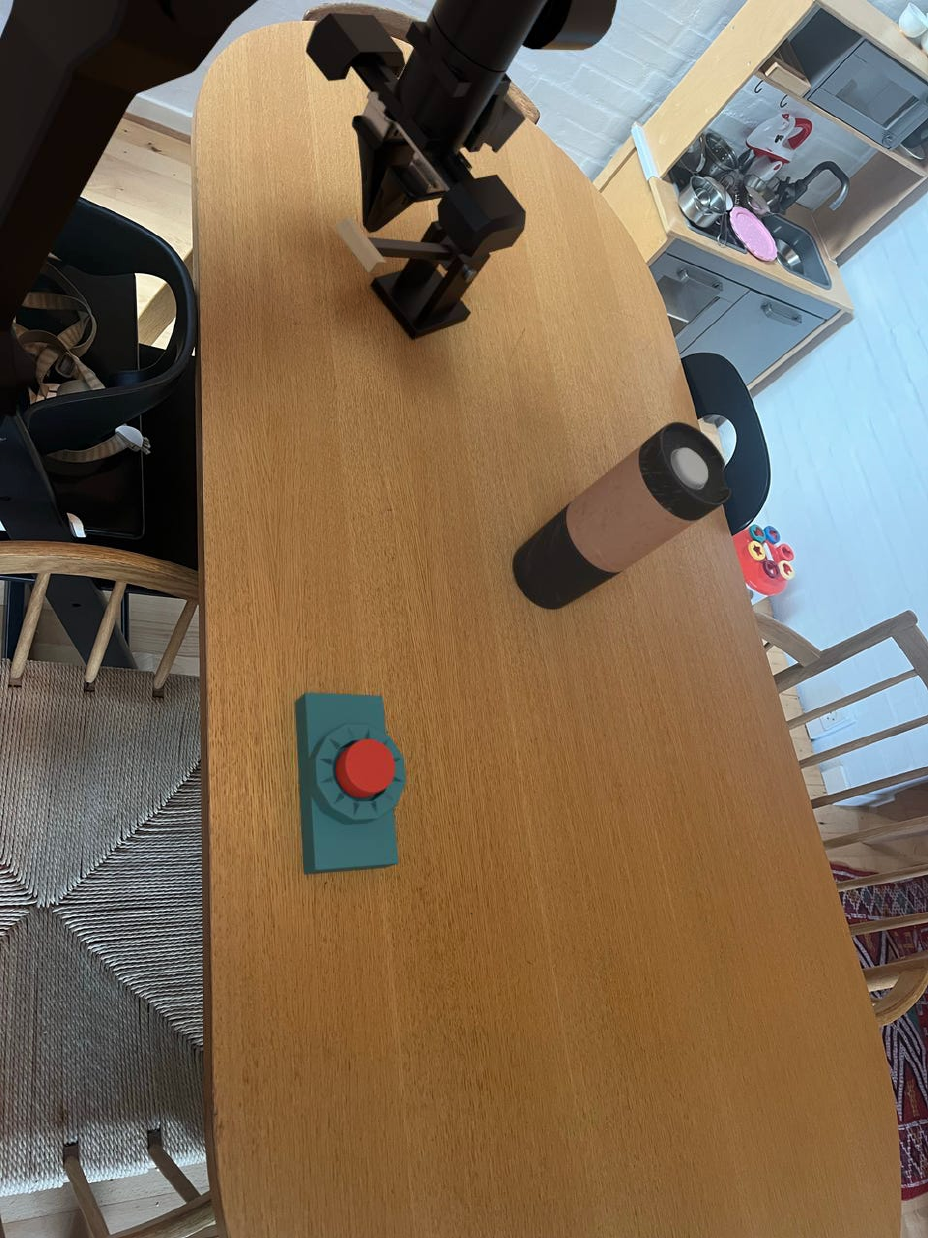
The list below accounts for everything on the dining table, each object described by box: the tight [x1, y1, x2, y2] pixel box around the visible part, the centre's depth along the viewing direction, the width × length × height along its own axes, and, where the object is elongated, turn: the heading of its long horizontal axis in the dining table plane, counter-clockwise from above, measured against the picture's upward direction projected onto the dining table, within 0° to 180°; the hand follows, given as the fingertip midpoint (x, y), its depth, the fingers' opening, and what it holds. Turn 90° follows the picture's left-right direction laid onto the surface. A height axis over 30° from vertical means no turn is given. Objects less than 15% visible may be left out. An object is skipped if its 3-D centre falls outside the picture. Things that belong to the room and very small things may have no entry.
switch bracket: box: [369, 220, 492, 341], centre depth 77 cm, size 9×7×9 cm
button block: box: [294, 691, 407, 876], centre depth 53 cm, size 12×6×4 cm, turn 9°
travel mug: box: [512, 421, 732, 610], centre depth 66 cm, size 8×8×20 cm
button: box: [336, 739, 395, 798], centre depth 51 cm, size 4×4×2 cm
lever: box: [334, 216, 462, 275], centre depth 69 cm, size 18×4×2 cm, turn 135°
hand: (369, 228), depth 61 cm, fingers closed
